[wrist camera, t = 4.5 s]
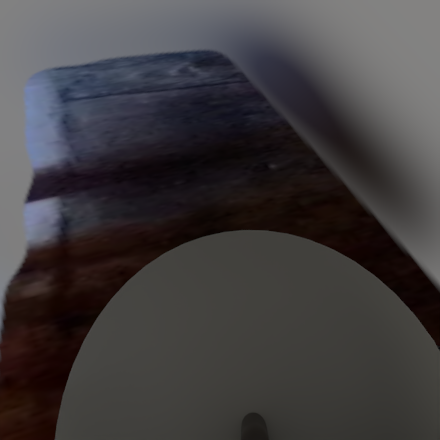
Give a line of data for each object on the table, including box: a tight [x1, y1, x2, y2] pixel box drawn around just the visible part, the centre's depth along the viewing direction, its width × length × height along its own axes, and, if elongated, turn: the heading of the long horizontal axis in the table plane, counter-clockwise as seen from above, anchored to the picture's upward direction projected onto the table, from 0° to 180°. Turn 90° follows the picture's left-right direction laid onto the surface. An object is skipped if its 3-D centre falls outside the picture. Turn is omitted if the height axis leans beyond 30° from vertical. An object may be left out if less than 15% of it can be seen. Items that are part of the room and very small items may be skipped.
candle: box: [55, 230, 440, 440], centre depth 8 cm, size 5×5×13 cm
